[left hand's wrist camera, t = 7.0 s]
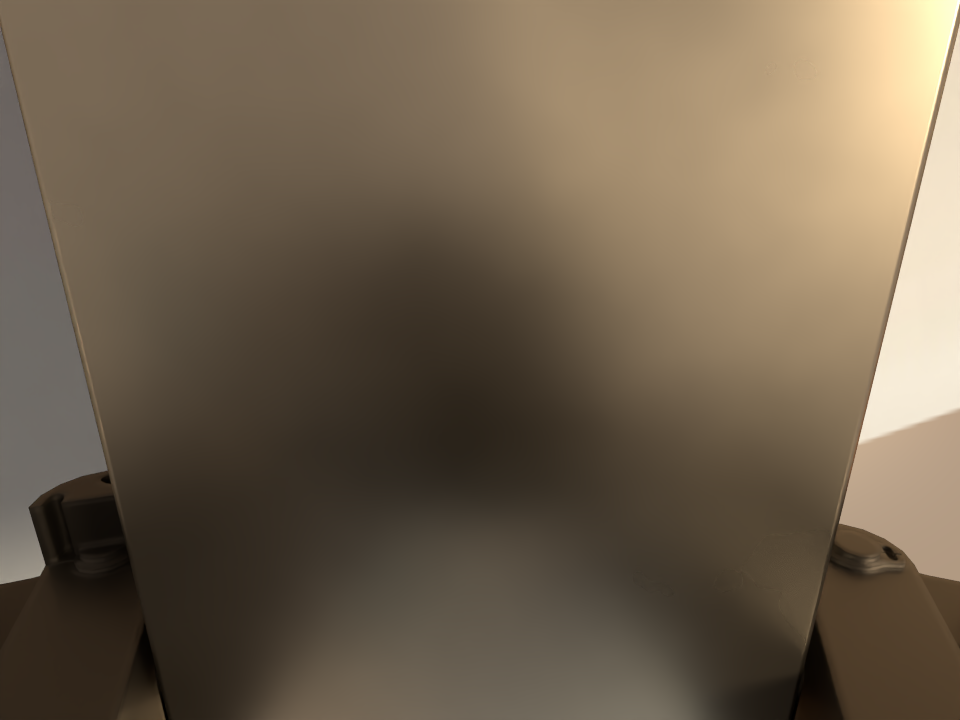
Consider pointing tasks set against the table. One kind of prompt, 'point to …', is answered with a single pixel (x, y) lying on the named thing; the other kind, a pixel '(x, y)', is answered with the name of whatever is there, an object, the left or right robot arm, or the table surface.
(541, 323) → the box
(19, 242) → the table surface
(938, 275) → the table surface
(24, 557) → the table surface
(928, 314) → the table surface
